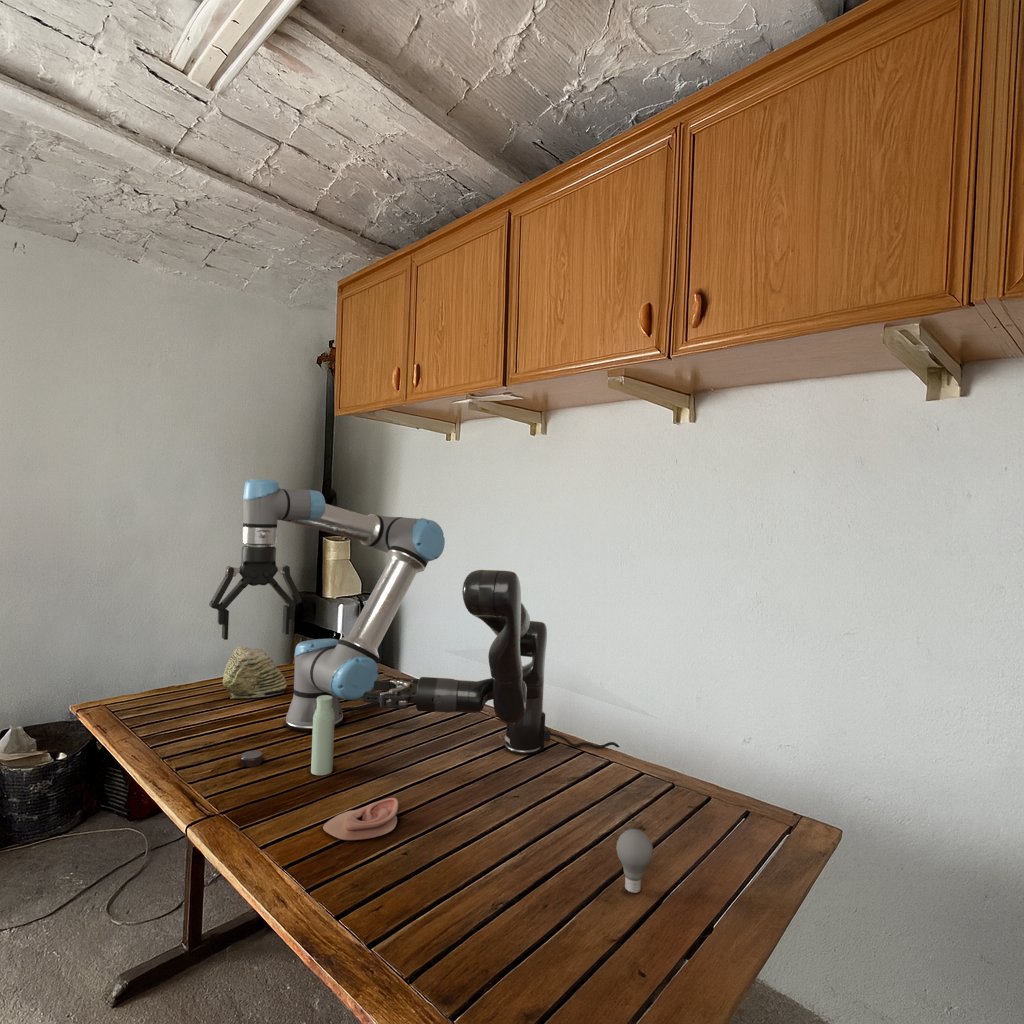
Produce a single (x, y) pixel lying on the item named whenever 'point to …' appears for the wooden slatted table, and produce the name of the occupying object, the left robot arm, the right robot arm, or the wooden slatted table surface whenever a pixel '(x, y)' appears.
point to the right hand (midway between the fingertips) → (369, 690)
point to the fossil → (252, 674)
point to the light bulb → (634, 857)
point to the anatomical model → (364, 821)
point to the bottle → (323, 737)
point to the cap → (251, 758)
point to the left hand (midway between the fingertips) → (256, 636)
